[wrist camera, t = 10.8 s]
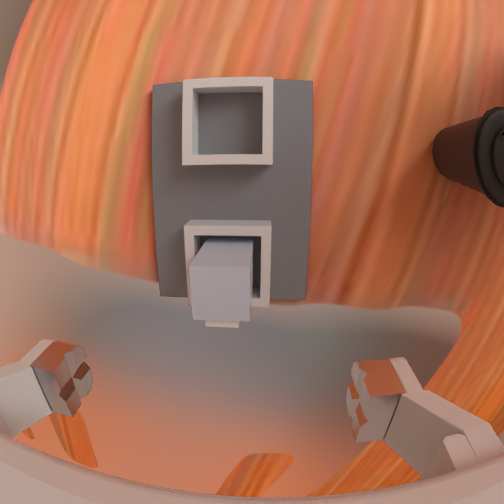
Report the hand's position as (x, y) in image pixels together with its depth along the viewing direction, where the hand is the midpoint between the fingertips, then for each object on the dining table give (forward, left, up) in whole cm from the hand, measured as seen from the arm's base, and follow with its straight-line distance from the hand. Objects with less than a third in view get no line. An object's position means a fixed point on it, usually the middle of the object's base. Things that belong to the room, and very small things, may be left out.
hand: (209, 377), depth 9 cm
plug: (+1, +3, -20) cm, 21 cm away
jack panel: (+1, -3, -21) cm, 22 cm away
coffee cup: (-21, -8, -22) cm, 31 cm away
